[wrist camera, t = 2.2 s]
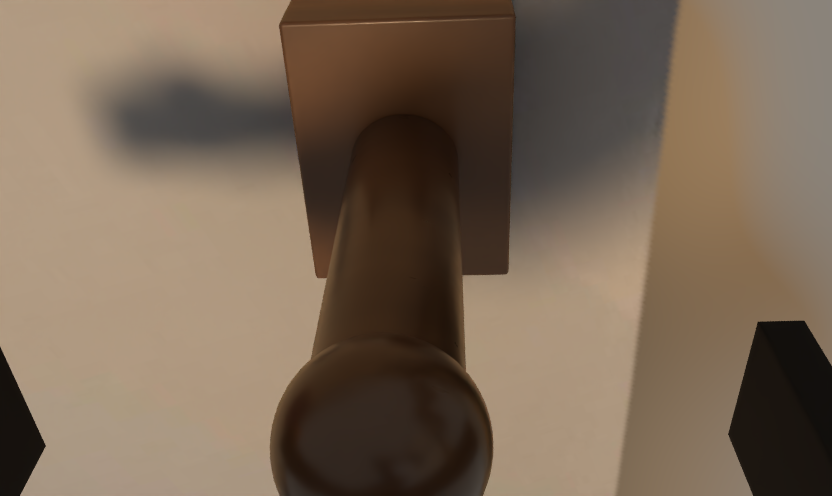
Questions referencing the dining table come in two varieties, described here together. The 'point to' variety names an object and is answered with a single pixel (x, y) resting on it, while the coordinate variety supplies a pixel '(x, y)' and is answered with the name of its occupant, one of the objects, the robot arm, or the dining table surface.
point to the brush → (396, 239)
